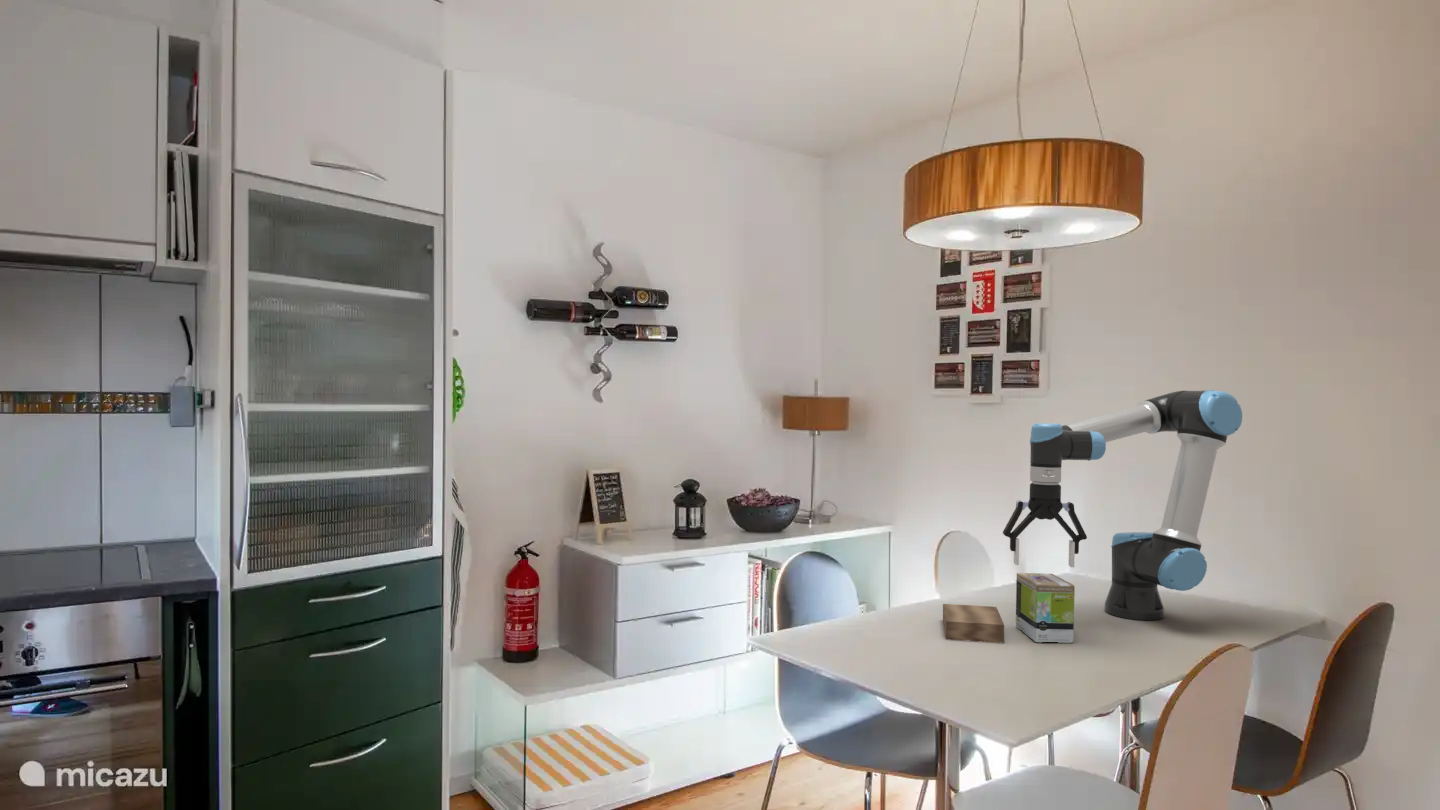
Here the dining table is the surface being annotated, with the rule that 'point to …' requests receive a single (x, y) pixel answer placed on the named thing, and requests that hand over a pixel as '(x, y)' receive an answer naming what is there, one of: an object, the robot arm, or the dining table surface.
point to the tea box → (1045, 607)
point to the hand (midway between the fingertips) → (1043, 565)
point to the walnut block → (973, 623)
